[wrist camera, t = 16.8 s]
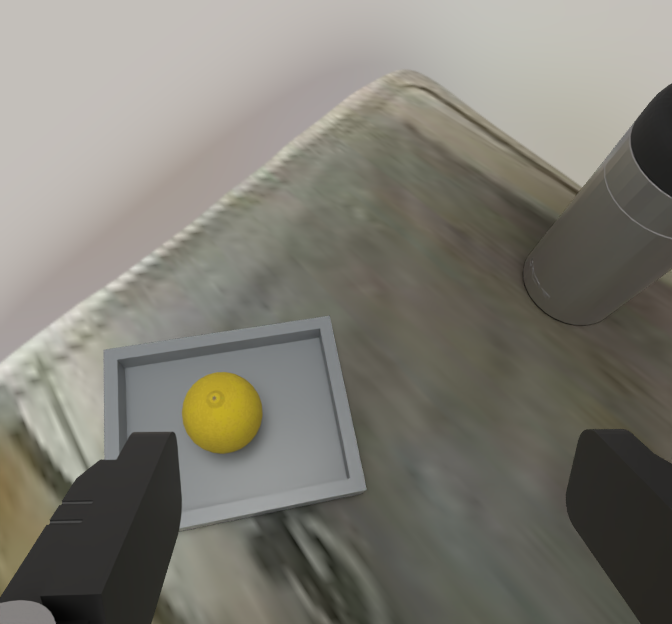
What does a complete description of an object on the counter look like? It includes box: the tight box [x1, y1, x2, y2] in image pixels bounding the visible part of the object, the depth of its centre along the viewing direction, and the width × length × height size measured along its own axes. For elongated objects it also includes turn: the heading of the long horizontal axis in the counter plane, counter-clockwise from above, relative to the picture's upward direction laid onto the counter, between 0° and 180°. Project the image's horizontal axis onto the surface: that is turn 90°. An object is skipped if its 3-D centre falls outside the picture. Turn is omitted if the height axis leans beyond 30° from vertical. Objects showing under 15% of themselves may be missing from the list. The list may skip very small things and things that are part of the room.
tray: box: [104, 316, 367, 532], centre depth 39 cm, size 18×14×3 cm
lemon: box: [182, 372, 263, 454], centre depth 36 cm, size 6×6×8 cm
